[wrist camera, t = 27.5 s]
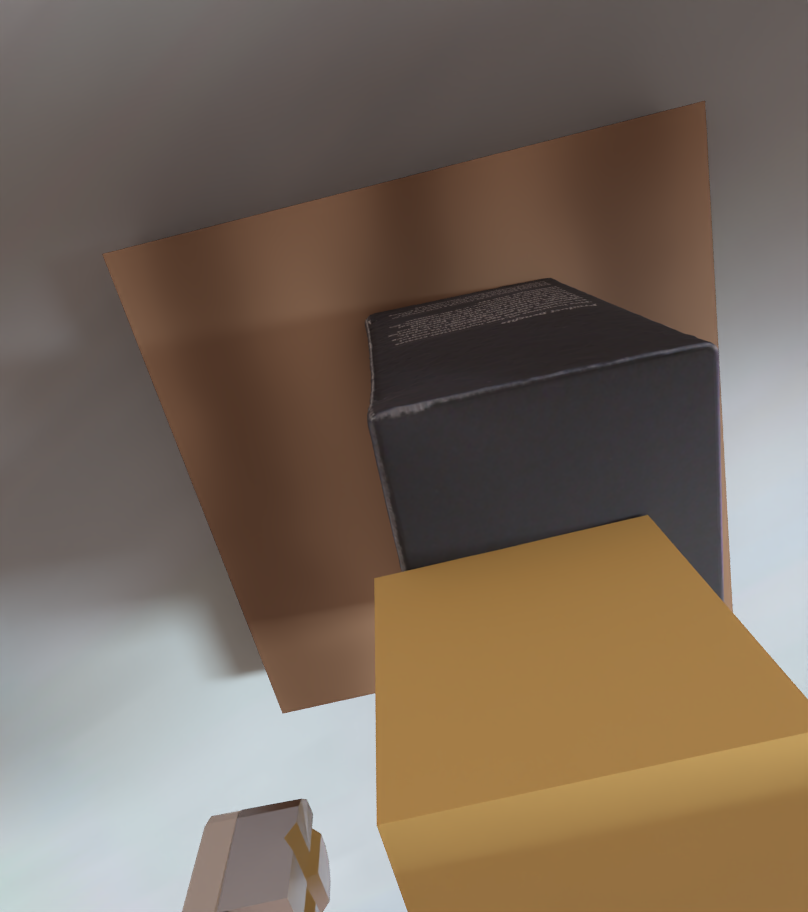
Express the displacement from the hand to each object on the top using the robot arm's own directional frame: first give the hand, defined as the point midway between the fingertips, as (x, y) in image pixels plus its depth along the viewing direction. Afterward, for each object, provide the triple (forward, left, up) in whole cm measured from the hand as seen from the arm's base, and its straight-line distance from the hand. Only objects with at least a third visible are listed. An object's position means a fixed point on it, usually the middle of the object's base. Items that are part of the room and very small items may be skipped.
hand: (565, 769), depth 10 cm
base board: (0, 0, -16) cm, 16 cm away
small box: (-1, 0, -13) cm, 13 cm away
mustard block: (0, 0, -3) cm, 3 cm away
